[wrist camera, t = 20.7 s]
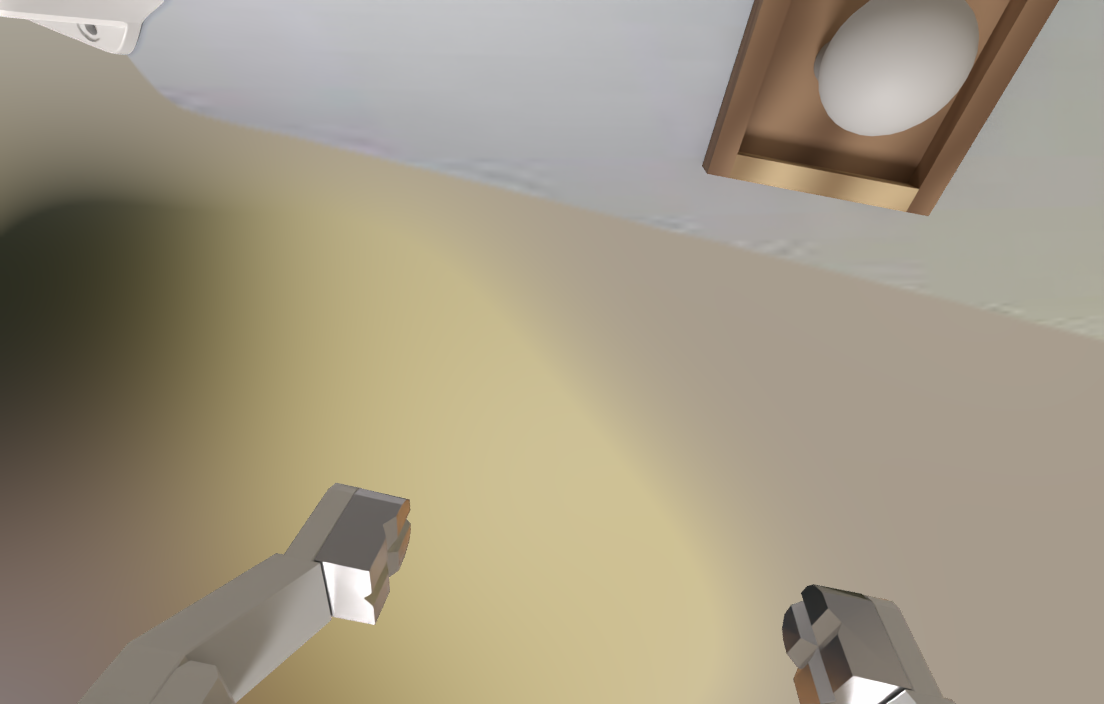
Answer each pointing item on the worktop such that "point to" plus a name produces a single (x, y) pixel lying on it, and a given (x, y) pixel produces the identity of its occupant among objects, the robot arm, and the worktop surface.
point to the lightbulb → (896, 63)
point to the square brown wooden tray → (829, 150)
